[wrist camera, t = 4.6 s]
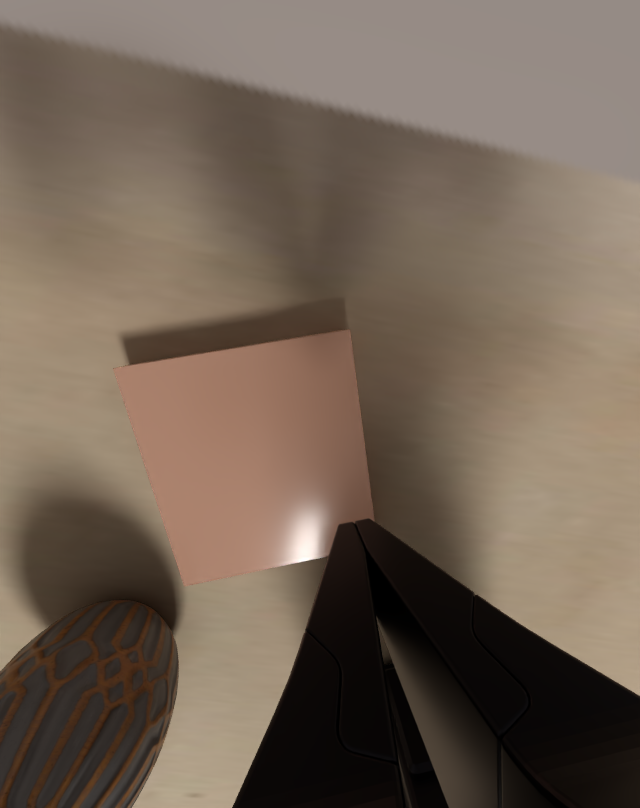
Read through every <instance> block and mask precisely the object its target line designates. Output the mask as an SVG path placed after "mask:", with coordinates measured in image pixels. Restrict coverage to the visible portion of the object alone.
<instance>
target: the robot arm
mask: <svg viewBox="0 0 640 808" xmlns="http://www.w3.org/2000/svg"><path fill="white" fill-rule="evenodd" d="M377 622H378V625H379V628H380V630H381V633H382V635H383V638H384V641H385V643H386V646H387V648H388V651H389V654H390V656H391V659H392V661H393V663H392V664H388V665H384V663H383V657H382V650H381V644H380V638H379V631H378V625H377ZM232 808H640V696H639V695H637V694H635V693H634V692H632V691H630V690H629V689H627V688H625V687H624V686H622V685H620V684H619V683H617V682H615V681H614V680H612V679H610V678H609V677H607V676H605V675H603V674H602V673H600V672H598V671H597V670H595V669H593V668H592V667H590V666H588V665H587V664H585V663H583V662H582V661H580V660H578V659H577V658H575V657H573V656H571V655H570V654H568V653H566V652H565V651H563V650H561V649H560V648H558V647H556V646H555V645H553V644H551V643H550V642H548V641H547V640H545V639H543V638H542V637H540V636H538V635H537V634H535V633H534V632H532V631H530V630H529V629H527V628H526V627H524V626H522V625H521V624H519V623H518V622H516V621H515V620H513V619H512V618H510V617H509V616H507V615H506V614H504V613H503V612H501V611H500V610H499V609H497V608H496V607H494V606H493V605H491V604H490V603H488V602H487V601H486V600H484V599H483V598H481V597H480V596H479V595H475V594H474V592H473V591H471V590H470V589H468V588H467V587H466V586H464V585H463V584H461V583H460V582H459V581H457V580H456V579H454V578H453V577H452V576H450V575H449V574H447V573H446V572H445V571H443V570H442V569H440V568H439V567H438V566H436V565H435V564H433V563H432V562H430V561H429V560H428V559H426V558H425V557H423V556H422V555H421V554H419V553H418V552H416V551H415V550H414V549H412V548H411V547H409V546H408V545H407V544H405V543H404V542H402V541H401V540H400V539H398V538H397V537H395V536H394V535H392V534H391V533H390V532H388V531H387V530H385V529H384V528H383V527H381V526H380V525H378V524H377V523H376V522H374V521H373V520H371V519H369V518H367V519H362V520H357V521H355V523H353V522H347V523H342V524H339V525H338V527H337V530H336V533H335V536H334V540H333V543H332V546H331V549H330V552H329V556H328V559H327V562H326V565H325V568H324V572H323V575H322V578H321V581H320V584H319V588H318V591H317V594H316V597H315V600H314V603H313V607H312V610H311V613H310V616H309V619H308V623H307V626H306V629H305V633H304V635H303V638H302V641H301V644H300V648H299V651H298V654H297V656H296V659H295V662H294V665H293V668H292V671H291V674H290V676H289V679H288V682H287V684H286V686H285V689H284V691H283V694H282V696H281V698H280V701H279V703H278V706H277V708H276V710H275V713H274V715H273V717H272V720H271V722H270V724H269V726H268V729H267V731H266V733H265V735H264V738H263V740H262V742H261V744H260V747H259V749H258V751H257V753H256V756H255V758H254V760H253V762H252V765H251V767H250V769H249V771H248V774H247V776H246V778H245V780H244V783H243V785H242V787H241V789H240V792H239V794H238V796H237V798H236V801H235V803H234V805H233V807H232Z"/></svg>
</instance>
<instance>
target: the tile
mask: <svg viewBox="0 0 640 808" xmlns="http://www.w3.org/2000/svg"><path fill="white" fill-rule="evenodd" d="M113 370H114V373H115V376H116V379H117V382H118V385H119V388H120V391H121V394H122V397H123V400H124V403H125V407H126V410H127V413H128V416H129V419H130V422H131V425H132V428H133V431H134V434H135V437H136V440H137V443H138V446H139V449H140V452H141V455H142V459H143V462H144V465H145V468H146V471H147V474H148V477H149V480H150V483H151V486H152V489H153V492H154V495H155V498H156V501H157V504H158V507H159V511H160V514H161V517H162V520H163V523H164V526H165V529H166V532H167V535H168V538H169V541H170V544H171V547H172V550H173V553H174V556H175V559H176V563H177V566H178V569H179V572H180V575H181V578H182V581H183V584H184V586H188V585H193V584H198V583H203V582H208V581H212V580H217V579H222V578H227V577H231V576H236V575H241V574H246V573H251V572H255V571H260V570H265V569H270V568H274V567H279V566H284V565H289V564H294V563H298V562H303V561H308V560H313V559H317V558H322V557H327V556H329V552H330V549H331V546H332V543H333V540H334V536H335V533H336V530H337V527H338V525H339V524H342V523H347V522H353V523H355V521H357V520H362V519H367V518H369V519H371V520H373V521H374V522H375V520H374V512H373V504H372V496H371V489H370V481H369V473H368V465H367V457H366V449H365V442H364V434H363V426H362V418H361V410H360V403H359V395H358V387H357V379H356V371H355V364H354V356H353V348H352V340H351V332H350V329H343V330H337V331H331V332H325V333H319V334H313V335H307V336H301V337H294V338H288V339H282V340H276V341H270V342H264V343H258V344H252V345H246V346H240V347H233V348H227V349H221V350H215V351H209V352H203V353H197V354H191V355H185V356H178V357H172V358H166V359H160V360H154V361H148V362H142V363H136V364H130V365H125V366H121V367H117V368H113Z"/></svg>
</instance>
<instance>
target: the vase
mask: <svg viewBox="0 0 640 808" xmlns="http://www.w3.org/2000/svg"><path fill="white" fill-rule="evenodd" d="M178 677H179V661H178V652H177V646H176V642H175V639H174V637H173V634H172V632H171V630H170V628H169V626H168V625H167V623H166V622H165V621H164V620H163V618H162V617H161V616H160V615H159V614H158V613H157V612H156V611H155V610H153V609H152V608H150V607H149V606H147V605H145V604H142V603H139V602H136V601H130V600H112V601H105V602H100V603H95V604H92V605H89V606H86V607H84V608H81V609H79V610H76V611H74V612H72V613H70V614H68V615H66V616H65V617H63V618H61V619H60V620H58V621H56V622H55V623H53V624H52V625H51V626H49V627H48V628H47V629H45V630H44V631H43V632H41V633H40V634H39V635H37V636H36V637H35V638H34V639H33V640H31V641H30V642H29V643H28V644H27V645H26V646H25V647H23V648H22V649H21V650H20V651H19V652H18V653H17V654H16V655H15V656H14V657H13V658H12V660H11V661H10V662H9V663H8V664H7V665H6V666H5V667H4V668H3V669H2V670H1V671H0V808H132V806H133V805H134V803H135V801H136V799H137V798H138V796H139V794H140V792H141V791H142V789H143V787H144V785H145V783H146V781H147V779H148V777H149V775H150V773H151V771H152V769H153V767H154V765H155V763H156V761H157V758H158V756H159V753H160V751H161V749H162V746H163V743H164V740H165V737H166V734H167V731H168V728H169V724H170V721H171V717H172V713H173V709H174V705H175V700H176V695H177V687H178Z"/></svg>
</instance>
